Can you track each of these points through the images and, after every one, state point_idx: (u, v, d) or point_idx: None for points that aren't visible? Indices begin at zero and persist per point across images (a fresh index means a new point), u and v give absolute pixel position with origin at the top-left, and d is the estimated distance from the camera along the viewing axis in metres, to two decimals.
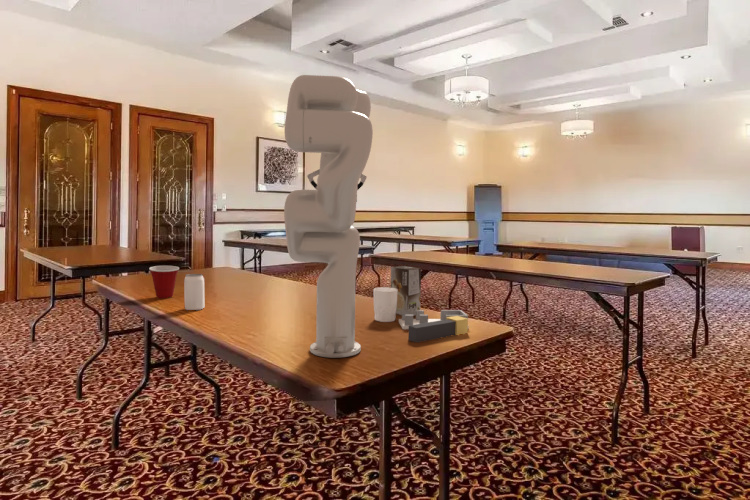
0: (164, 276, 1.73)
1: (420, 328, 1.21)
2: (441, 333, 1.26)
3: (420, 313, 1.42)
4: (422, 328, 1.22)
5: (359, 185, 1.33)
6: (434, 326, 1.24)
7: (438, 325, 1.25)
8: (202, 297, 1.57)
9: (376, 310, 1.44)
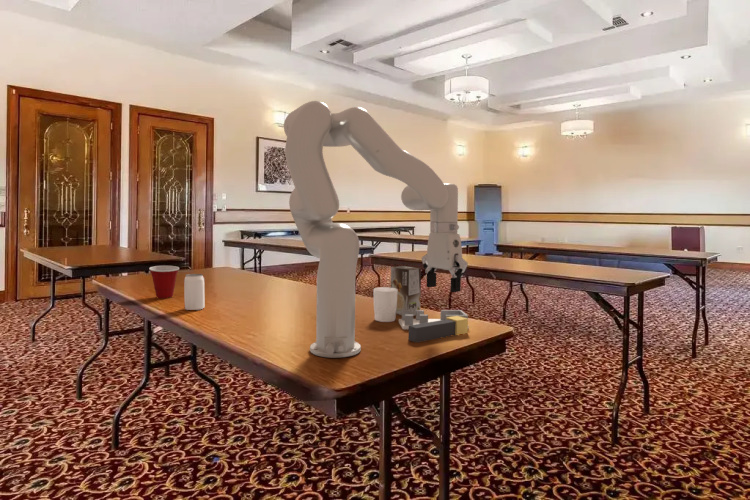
0: (164, 276, 1.73)
1: (420, 328, 1.21)
2: (440, 333, 1.26)
3: (420, 313, 1.42)
4: (422, 328, 1.22)
5: None
6: (434, 326, 1.24)
7: (438, 325, 1.25)
8: (202, 297, 1.57)
9: (376, 310, 1.44)
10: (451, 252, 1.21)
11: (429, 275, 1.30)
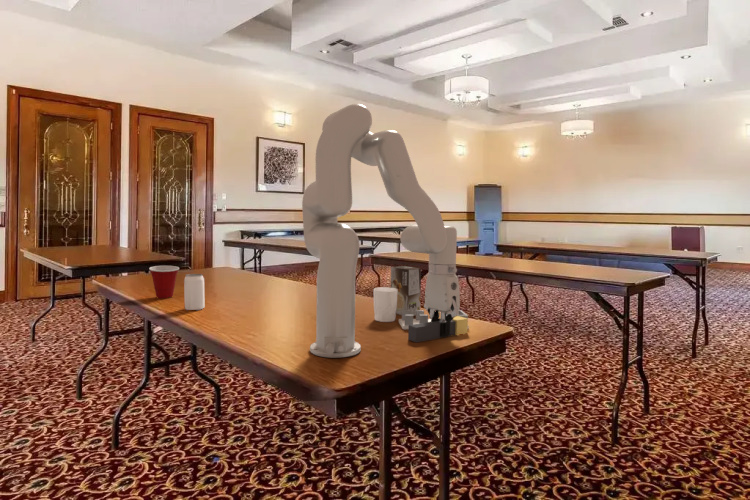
0: (164, 276, 1.73)
1: (419, 328, 1.21)
2: None
3: (420, 313, 1.42)
4: (422, 328, 1.22)
5: None
6: (434, 326, 1.24)
7: (438, 325, 1.25)
8: (202, 297, 1.57)
9: (376, 310, 1.44)
10: (449, 295, 1.22)
11: None
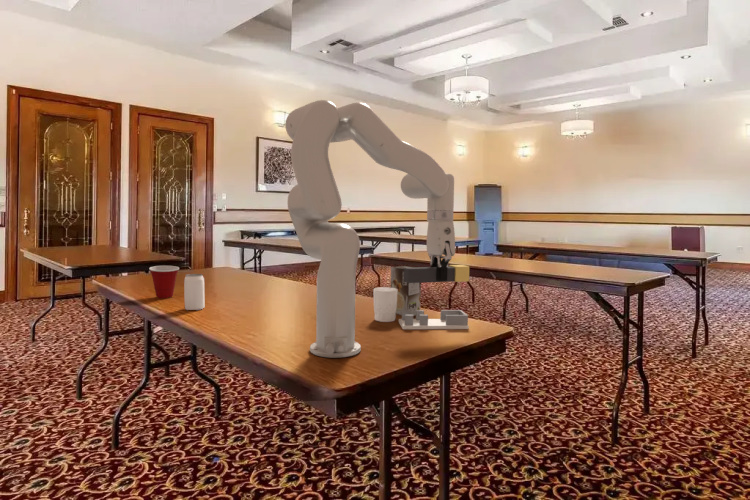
0: (164, 276, 1.73)
1: (412, 269, 1.27)
2: None
3: (420, 313, 1.42)
4: (415, 270, 1.28)
5: None
6: (429, 269, 1.29)
7: (434, 269, 1.29)
8: (202, 297, 1.57)
9: (376, 310, 1.44)
10: (441, 239, 1.26)
11: None
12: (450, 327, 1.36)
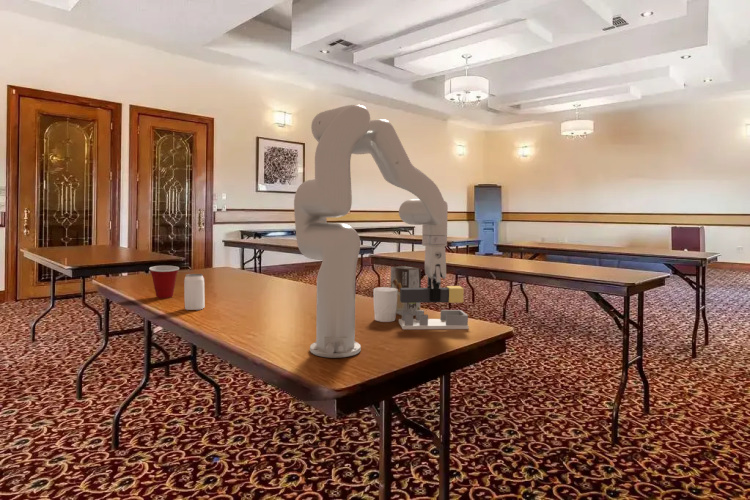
0: (164, 276, 1.73)
1: (405, 290, 1.37)
2: None
3: (420, 313, 1.42)
4: (408, 290, 1.37)
5: None
6: (422, 290, 1.37)
7: (427, 290, 1.38)
8: (202, 297, 1.57)
9: (376, 310, 1.44)
10: (432, 263, 1.34)
11: None
12: (450, 327, 1.36)
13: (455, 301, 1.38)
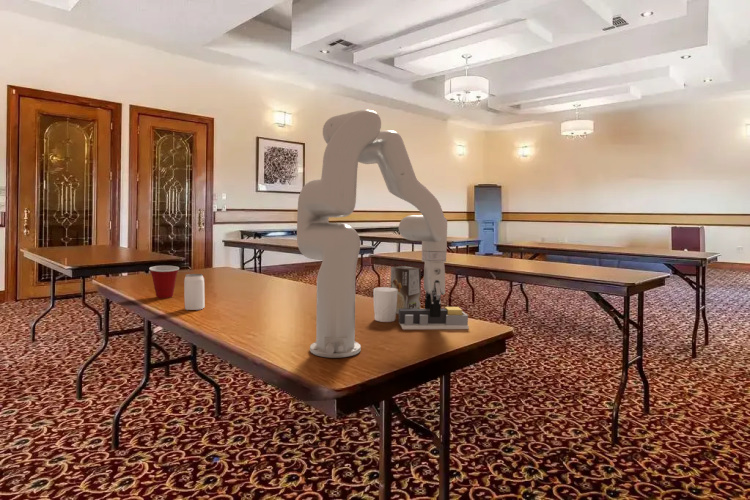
0: (164, 276, 1.73)
1: (404, 311, 1.37)
2: (429, 319, 1.38)
3: None
4: (407, 312, 1.37)
5: None
6: (421, 312, 1.38)
7: (426, 311, 1.38)
8: (202, 297, 1.57)
9: (376, 310, 1.44)
10: (431, 279, 1.34)
11: (426, 301, 1.43)
12: (450, 327, 1.36)
13: None
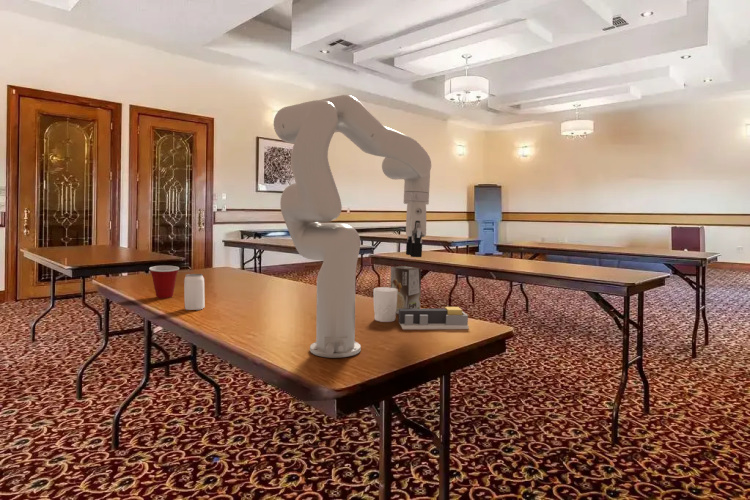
0: (164, 276, 1.73)
1: (404, 311, 1.37)
2: (429, 319, 1.38)
3: None
4: (407, 312, 1.37)
5: None
6: (421, 312, 1.38)
7: (426, 311, 1.38)
8: (202, 297, 1.57)
9: (376, 310, 1.44)
10: (412, 219, 1.31)
11: (408, 243, 1.40)
12: (450, 327, 1.36)
13: None
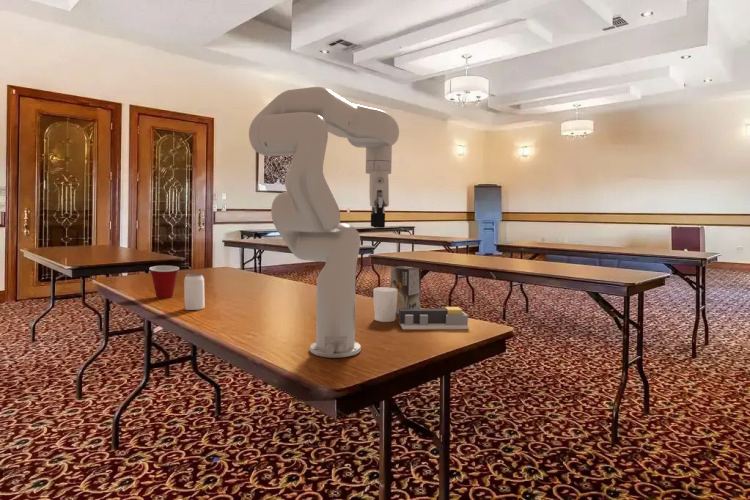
0: (164, 276, 1.73)
1: (404, 311, 1.37)
2: (429, 319, 1.38)
3: None
4: (407, 312, 1.37)
5: None
6: (421, 312, 1.38)
7: (426, 311, 1.38)
8: (202, 297, 1.57)
9: (376, 310, 1.44)
10: (373, 188, 1.27)
11: (372, 215, 1.37)
12: (450, 327, 1.36)
13: None
